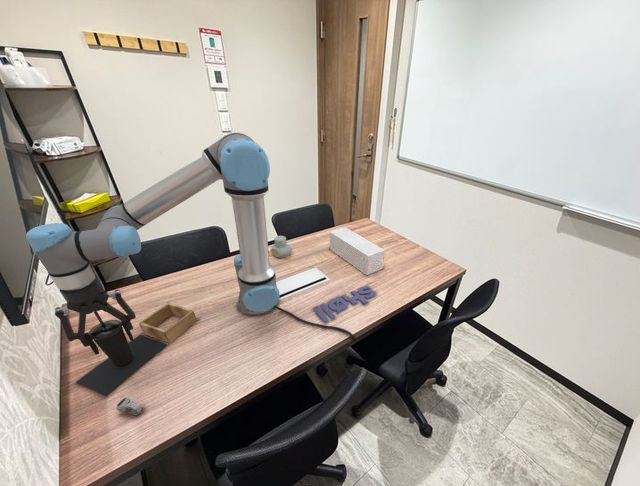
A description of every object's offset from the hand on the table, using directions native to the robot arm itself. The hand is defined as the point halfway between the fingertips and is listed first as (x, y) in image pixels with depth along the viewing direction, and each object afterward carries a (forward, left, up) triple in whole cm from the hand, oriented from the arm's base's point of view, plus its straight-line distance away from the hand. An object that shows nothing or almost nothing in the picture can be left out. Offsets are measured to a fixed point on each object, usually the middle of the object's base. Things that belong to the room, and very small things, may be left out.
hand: (114, 344), depth 85 cm
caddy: (0, -17, -8) cm, 19 cm away
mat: (0, 0, -8) cm, 8 cm away
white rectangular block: (-46, -90, -9) cm, 101 cm away
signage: (-55, -54, -8) cm, 78 cm away
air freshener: (-9, -78, -9) cm, 79 cm away
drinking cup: (0, 0, -7) cm, 7 cm away
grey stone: (-17, +11, -9) cm, 22 cm away
